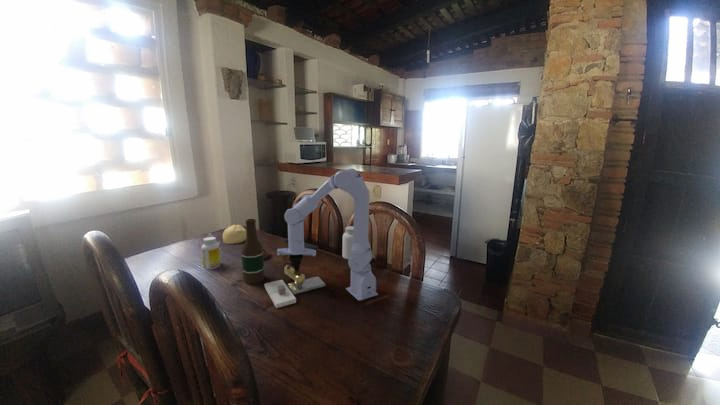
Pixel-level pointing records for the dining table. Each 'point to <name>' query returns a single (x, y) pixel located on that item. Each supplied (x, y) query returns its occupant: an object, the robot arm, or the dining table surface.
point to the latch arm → (294, 274)
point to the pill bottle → (348, 241)
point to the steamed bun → (234, 234)
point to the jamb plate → (306, 285)
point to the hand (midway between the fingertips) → (297, 272)
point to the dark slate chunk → (305, 245)
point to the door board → (280, 297)
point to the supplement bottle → (210, 253)
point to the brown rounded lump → (265, 255)
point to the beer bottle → (252, 255)
